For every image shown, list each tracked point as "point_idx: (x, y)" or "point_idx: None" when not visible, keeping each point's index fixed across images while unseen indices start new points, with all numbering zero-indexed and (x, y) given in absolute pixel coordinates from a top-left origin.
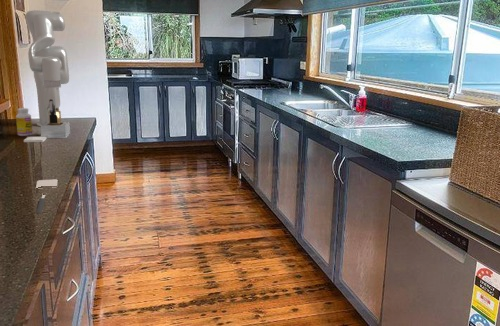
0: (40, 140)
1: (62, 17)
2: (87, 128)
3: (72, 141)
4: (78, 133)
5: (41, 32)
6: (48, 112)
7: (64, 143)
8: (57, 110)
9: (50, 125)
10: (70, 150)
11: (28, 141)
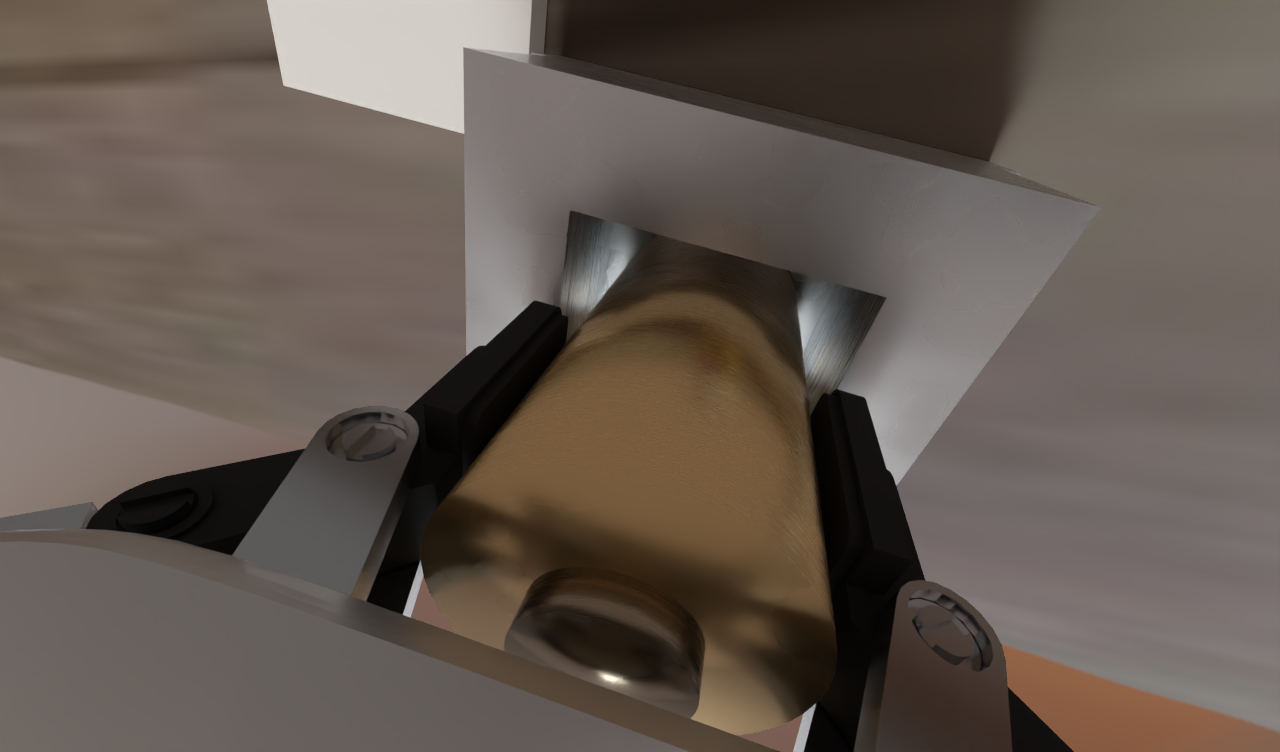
0: (284, 51)
1: None
2: (1089, 657)
3: (371, 394)
4: None
5: None
6: (566, 447)
7: (278, 320)
8: (851, 743)
9: (486, 278)
10: (55, 325)
11: None
